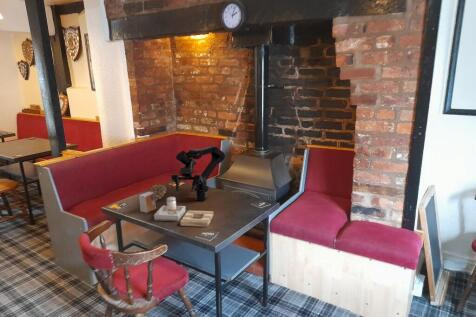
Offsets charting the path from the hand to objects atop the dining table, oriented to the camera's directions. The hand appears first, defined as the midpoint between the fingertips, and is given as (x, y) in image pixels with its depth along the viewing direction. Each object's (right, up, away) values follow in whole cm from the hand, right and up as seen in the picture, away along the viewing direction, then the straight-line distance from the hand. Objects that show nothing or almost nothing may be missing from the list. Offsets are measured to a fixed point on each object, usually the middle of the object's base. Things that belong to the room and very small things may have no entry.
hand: (184, 191), depth 202 cm
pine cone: (-24, -9, +21) cm, 33 cm away
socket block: (+9, -15, -10) cm, 20 cm away
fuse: (-6, -13, -5) cm, 16 cm away
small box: (-23, -12, +7) cm, 27 cm away
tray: (-8, -14, -3) cm, 16 cm away
